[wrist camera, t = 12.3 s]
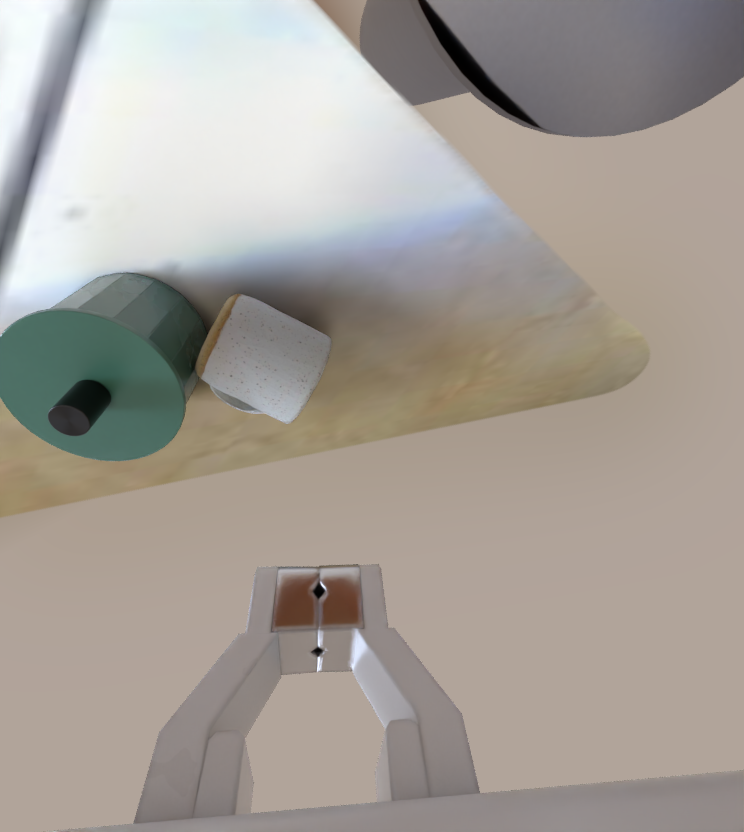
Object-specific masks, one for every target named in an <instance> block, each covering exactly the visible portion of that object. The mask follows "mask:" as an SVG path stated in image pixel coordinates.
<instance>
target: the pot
mask: <svg viewBox="0 0 744 832" xmlns="http://www.w3.org/2000/svg"><path fill="white" fill-rule="evenodd" d="M53 308H76V309H83V310H89V311H93V312H97V313H101V314H104V315H107V316H110V317H112V318H115V319H117V320H119V321H121V322H123V323H125V324H127V325H129V326H131V327H133V328H134V329H136V330H138V331H139V332H141V333H142V334H144V335H145V336H146V337H147V338H149V339H150V340H151V341H152V342H154V343H155V344H156V345H157V346H158V347H159V348H160V349H161V350H162V351H163V352H164V354H165V355H166V356H167V357H168V358H169V360H170V361H171V362H172V364H173V365H174V367H175V369H176V370H177V372H178V374H179V376H180V378H181V381H182V384H183V387H184V391H185V397H186V403H187V401H188V400H189V398H190V396H191V394H192V392H193V390H194V388H195V386H196V384H197V382H198V380H199V378H200V377H199V376H198V375H197V372H196V370H195V365H196V361H197V359H198V356H199V353H200V351H201V348H202V346H203V344H204V342H205V340H206V338H207V332H206V329H205V326H204V324H203V321H202V320H201V318H200V316H199V314H198V313H197V311H196V310H195V309H194V307H193V306H192V305H191V304H190V303H189V302H188V301H187V300H186V299H185V298H184V297H183V296H182V295H181V294H180V293H178V292H177V291H175V290H174V289H173V288H171V287H169V286H168V285H166V284H164V283H162V282H160V281H158V280H155V279H153V278H150V277H147V276H143V275H138V274H131V273H116V274H110V275H106V276H103V277H98V278H96V279H95V280H93V281H92V282H90V283H88V284H87V285H85V286H84V287H82V288H81V289H79V290H78V291H76V292H75V293H73V294H72V295H70V296H69V297H67V298H66V299H64V300H62V301H61V302H59V303H58V304H56V305H55V306H53V307H52V308H50V309H53Z"/></svg>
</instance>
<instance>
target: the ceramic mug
mask: <svg viewBox="0 0 744 832" xmlns="http://www.w3.org/2000/svg"><path fill="white" fill-rule="evenodd" d="M331 344H332V341H331V338H330V337H329V336H327V335H325V334H323V333H321V332H319V331H317V330H315V329H314V328H312V327H310V326H308V325H306V324H304V323H302V322H300V321H298V320H296V319H294V318H292V317H290V316H288V315H286V314H284V313H282V312H280V311H278V310H276V309H274V308H272V307H271V306H269V305H267V304H265V303H263V302H261V301H259V300H257V299H255V298H252V297H249V296H246V295H242V294H235V295H232V296H230V297H229V298H228V299H227V301H226V302H225V304H224V305H223V307H222V309H221V311H220V312H219V314H218V316H217V318H216V320H215V322H214V324H213V326H212V328H211V330H210V332H209V334H208V336H207V338H206V340H205V342H204V344H203V346H202V348H201V351H200V353H199V356H198V359H197V361H196V365H195V370H196V372H197V375H198V376H199V377H200V378H201V379H202V380H204V381H205V382H207V383H208V384H209V385H210V388H211V390H212V391H213V392H214V394H215V395H216V396H217V397H218V398H219V399H221V400H222V401H223V402H225V403H226V404H228V405H230V406H232V407H233V408H235V409H238V410H240V411H244V412H247V413H252V414H262V413H266V414H267V415H269V416H271V417H273V418H275V419H277V420H279V421H281V422H284V423H286V424H289V423H291V422H292V421H293V420H294V419H296V418H297V416H298V415H299V414H300V413H301V411H302V410H303V408H304V407H305V405H306V403H307V402H308V400H309V398H310V396H311V395H312V393H313V391H314V390H315V388H316V386H317V384H318V382H319V380H320V378H321V376H322V374H323V371H324V368H325V365H326V363H327V361H328V358H329V354H330V350H331Z"/></svg>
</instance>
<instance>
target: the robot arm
mask: <svg viewBox="0 0 744 832" xmlns="http://www.w3.org/2000/svg"><path fill="white" fill-rule="evenodd" d="M317 667H318V672H340V671H341V672H343V671H353V674H354V676H355V678H356V679H357V681H358V683H359V685H360V686H361V688H362V690H363V692H364V693H365V695H366V697H367V698H368V700H369V702H370V703H371V705H372V707H373V709H374V711H375V712H376V714H377V716H378V718H379V719H380V721H381V723H382V724H383V726H384V728H385V733H384V737H383V741H382V745H381V750H380V754H379V758H378V762H377V767H376V771H375V778H376V794H377V802H375V803H365V804H353V805H341V806H330V807H318V808H307V809H296V810H284V811H273V812H261V813H251V804H252V793H253V784H254V782H253V777H252V772H251V767H250V762H249V757H248V753H247V747H246V742H245V737H246V736H247V734H248V733H249V731H250V729H251V728H252V726H253V724H254V722H255V721H256V719H257V717H258V716H259V714H260V712H261V711H262V709H263V707H264V706H265V704H266V702H267V700H268V699H269V697H270V695H271V694H272V692H273V690H274V689H275V687H276V685H277V684H278V682H279V680H280V679H281V675H287V674H300V673H312V672H317ZM46 832H744V770H740V771H728V772H716V773H705V774H693V775H682V776H671V777H659V778H648V779H637V780H625V781H614V782H603V783H591V784H580V785H568V786H557V787H546V788H535V789H523V790H511V791H500V792H489V793H480V791H479V787H478V782H477V778H476V774H475V769H474V765H473V760H472V756H471V751H470V747H469V743H468V738H467V734H466V730H465V726H464V721H463V717H462V713H461V712H460V711H459V710H458V708H457V707H456V706H455V705H454V703H453V702H452V701H451V699H450V698H449V697H448V696H447V694H446V693H445V692H444V690H443V689H442V688H441V687H440V686H439V684H438V683H437V682H436V680H435V679H434V678H433V676H432V675H431V674H430V673H429V671H428V670H427V669H426V668H425V666H424V665H423V664H422V662H421V661H420V660H419V659H418V658H417V656H416V655H415V654H414V652H413V651H412V650H411V648H410V647H409V646H408V645H407V643H406V642H405V641H404V639H403V638H402V637H401V636H400V634H399V633H398V632H397V631H396V629H395V628H388V622H387V613H386V605H385V597H384V589H383V581H382V573H381V568H380V566H379V564H372V565H358V564H356V565H355V564H353V565H328V566H319V567H257V570H256V573H255V577H254V583H253V589H252V595H251V601H250V607H249V614H248V620H247V626H246V632H245V634H238V636H237V637H236V638H235V640H233V642H232V643H231V644H230V646H229V647H228V648H227V649H226V650H225V652H224V653H223V654H222V655H221V657H220V658H219V659H218V660H217V662H216V663H215V664H214V665H213V667H212V668H211V669H210V670H209V671H208V673H207V674H206V675H205V677H204V678H203V679H202V680H201V681H200V683H199V684H198V685H197V686H196V688H195V689H194V690H193V691H192V693H191V694H190V695H189V696H188V698H187V699H186V700H185V701H184V703H183V704H182V705H181V706H180V707H179V709H178V710H177V711H176V712H175V714H174V715H173V716H172V717H171V719H170V720H169V721H168V722H167V724H166V725H165V726H164V727H163V729H162V730H161V731H160V732H159V735H158V738H157V742H156V746H155V749H154V753H153V756H152V760H151V763H150V767H149V771H148V774H147V778H146V781H145V784H144V788H143V792H142V795H141V799H140V802H139V806H138V809H137V813H136V817H135V820H134V823H133V824H125V825H114V826H103V827H91V828H79V829H68V830H57V831H46Z"/></svg>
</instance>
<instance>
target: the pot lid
mask: <svg viewBox="0 0 744 832" xmlns="http://www.w3.org/2000/svg"><path fill="white" fill-rule="evenodd" d="M0 397H1V399H2V401H3V402H4V404H5V406H6V407H7V408H8V409H9V411H10V412H11V413H12V414H13V416H14V417H15V418H16V419H17V420H18V421H19V422H20V423H21V424H22V425H24V426H25V427H26V428H27V429H28V430H29V431H31V432H32V433H33V434H35V435H36V436H38V437H39V438H41V439H42V440H44V441H46V442H48V443H49V444H51V445H53V446H55V447H57V448H59V449H61V450H64V451H67V452H69V453H72V454H75V455H78V456H82V457H85V458H90V459H96V460H104V461H126V460H133V459H138V458H142V457H145V456H148V455H150V454H153V453H155V452H157V451H158V450H160V449H162V448H163V447H165V446H166V445H167V444H168V443H169V442H170V441H171V440H172V439H173V438H174V437H175V435H176V434H177V432H178V430H179V429H180V427H181V425H182V422H183V419H184V416H185V411H186V397H185V391H184V387H183V384H182V381H181V378H180V376H179V374H178V372H177V370H176V369H175V367H174V365H173V364H172V362H171V361H170V360H169V358H168V357H167V356H166V355H165V354H164V352H163V351H162V350H161V349H160V348H159V347H158V346H157V345H156V344H155V343H154V342H152V341H151V340H150V339H149V338H147V337H146V336H145V335H144V334H142V333H141V332H139V331H138V330H136V329H134V328H133V327H131V326H129V325H127V324H125V323H123V322H121V321H119V320H117V319H115V318H112V317H110V316H107V315H104V314H101V313H97V312H93V311H89V310H83V309H76V308H53V309H46V310H41V311H37V312H34V313H31V314H29V315H26V316H24V317H23V318H21V319H19V320H17V321H16V322H14V323H13V324H12V325H10V326H9V327H8V328H7V329H6V330H5V331H4V332H3V333H2V334H1V336H0Z"/></svg>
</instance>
